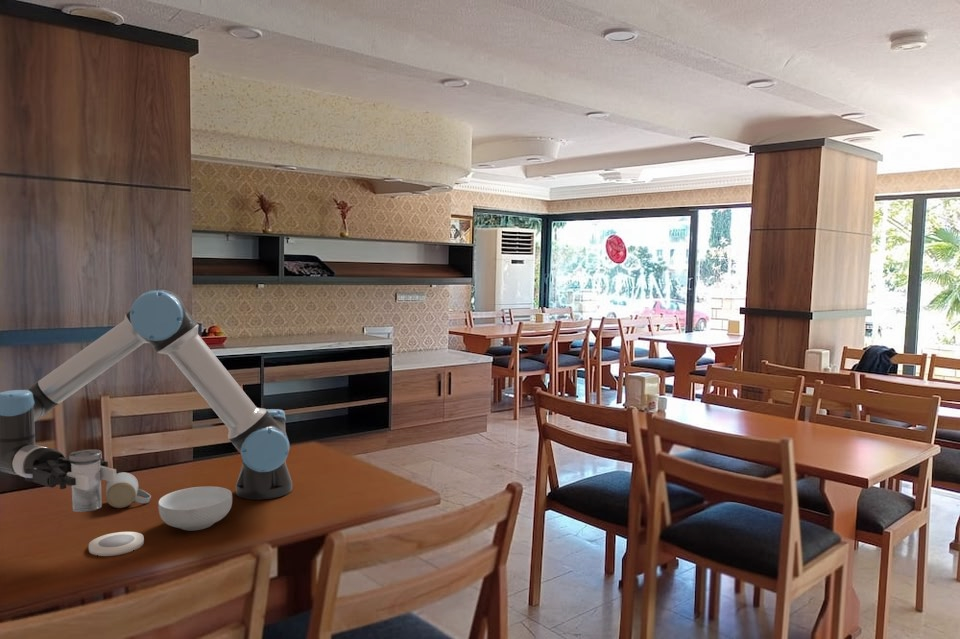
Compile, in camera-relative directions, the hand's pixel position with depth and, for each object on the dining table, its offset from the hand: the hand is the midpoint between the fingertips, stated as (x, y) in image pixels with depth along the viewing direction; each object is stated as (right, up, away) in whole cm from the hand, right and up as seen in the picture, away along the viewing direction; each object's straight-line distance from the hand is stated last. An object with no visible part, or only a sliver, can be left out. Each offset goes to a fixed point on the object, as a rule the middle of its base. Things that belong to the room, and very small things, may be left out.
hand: (100, 479), depth 150 cm
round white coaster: (-1, -17, +9) cm, 19 cm away
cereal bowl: (+11, -16, +22) cm, 30 cm away
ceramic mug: (-13, -15, +37) cm, 41 cm away
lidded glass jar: (-5, -7, +3) cm, 9 cm away
